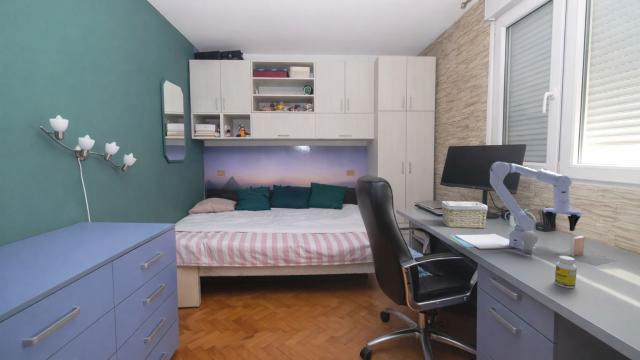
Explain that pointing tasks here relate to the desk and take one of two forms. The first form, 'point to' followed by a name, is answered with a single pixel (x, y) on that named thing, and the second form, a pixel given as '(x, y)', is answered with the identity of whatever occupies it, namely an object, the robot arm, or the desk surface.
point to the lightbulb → (529, 240)
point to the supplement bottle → (565, 272)
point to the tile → (577, 246)
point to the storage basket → (464, 214)
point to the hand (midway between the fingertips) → (562, 229)
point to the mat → (588, 258)
